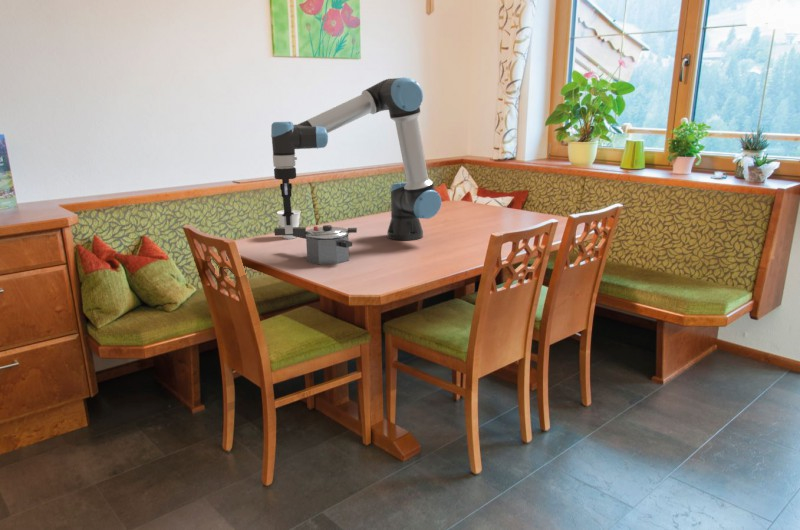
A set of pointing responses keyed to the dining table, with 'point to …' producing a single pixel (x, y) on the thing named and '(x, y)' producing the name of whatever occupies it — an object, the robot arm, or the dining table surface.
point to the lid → (318, 232)
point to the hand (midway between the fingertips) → (289, 233)
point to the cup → (294, 221)
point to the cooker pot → (327, 250)
